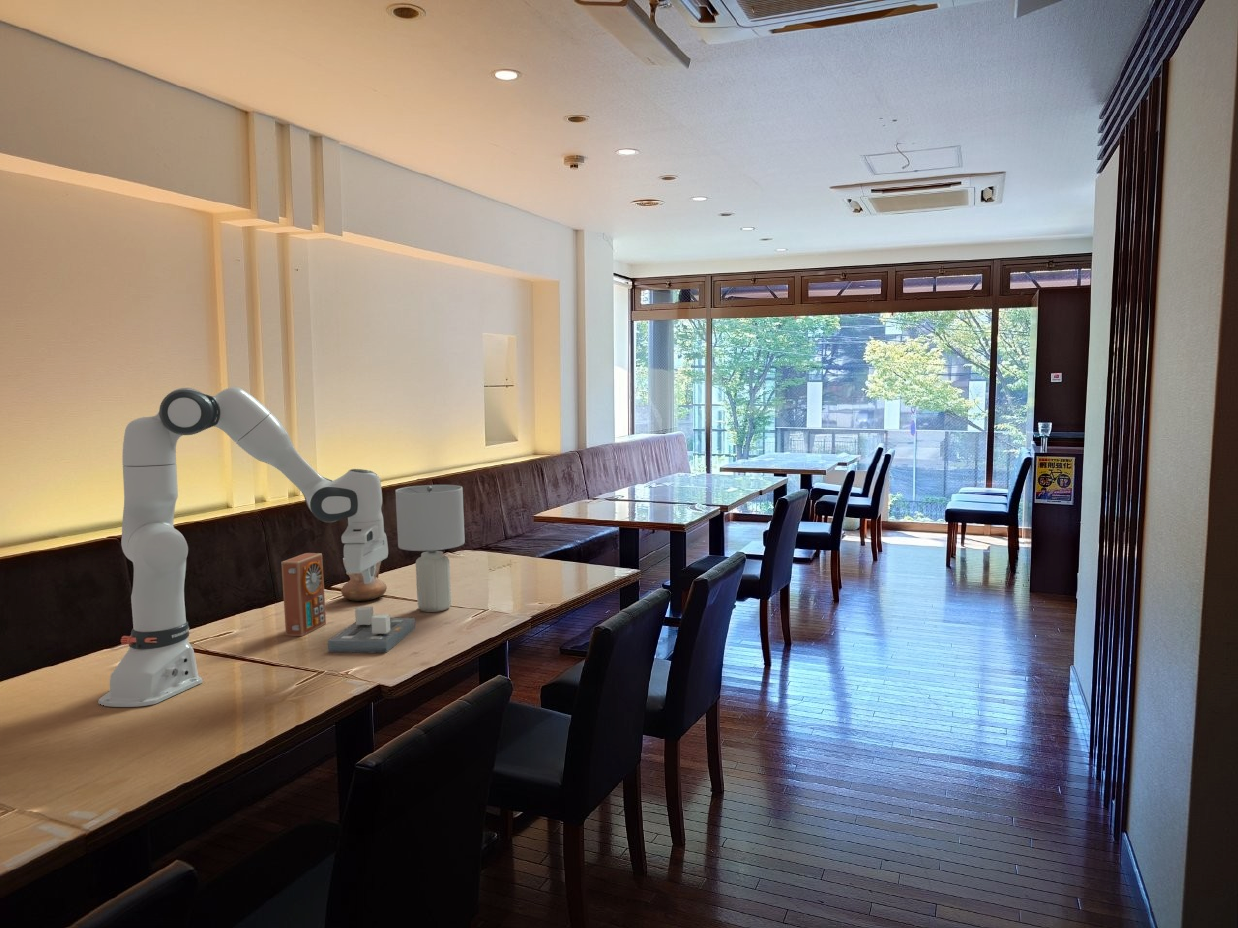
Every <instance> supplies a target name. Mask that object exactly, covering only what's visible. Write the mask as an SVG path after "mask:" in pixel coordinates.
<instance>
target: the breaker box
mask: <svg viewBox="0 0 1238 928" xmlns="http://www.w3.org/2000/svg"><path fill="white" fill-rule="evenodd" d="M414 628H415V629H416V619H415V618H414V617H390V631H389V632H388V633H386V634H379V633H372V623H371V624H370V625H356V621H355V622H353V623H352V624H351V625H349V626H348V627H345V628H344V629H343V630H342V631H340V632H338V633H337V634H336V635H335V636H333V637H331V638H330V639H328V641H327V647H328V648H327V649H328V650H327V651H328V653H371V654H372V653H374V654H375V653H376V652H377V653H376V654H378V653H381V654H382V652H386V653H388V652H389V651H391V650H392V649H393V648H394V647H395V646H396V645H397V644H399V643H400V642H401V641H402V640H403V639H405V638H406V637H407V636H408V635H409V634H410V633H411V632H412V631H413V629H414ZM415 629H414V630H415ZM406 635H407V636H406ZM405 636H406V637H405ZM386 653H385V654H386Z"/></svg>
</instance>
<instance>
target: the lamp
mask: <svg viewBox="0 0 1238 928" xmlns="http://www.w3.org/2000/svg"><path fill="white" fill-rule="evenodd" d="M463 491H464V489H463V486H461V485H458V484H456V485H455V484H426V485H424V484H423V485H414V486H405V487H401V488H397V489H395V509H396V510H395V511H396V527H397V547H398V549H400V550H404V551H410V552H411V551H413V552H422V553H421V554H420V557H418V558H417V559H416V560H415V581H416V598H417V599H416V601H417V602H416V603H417V607H418V609H419V610H420V611H422V612H425V613H436V612H438V613H439V612H444V611H445V610H448V609H449V608H450V606H451V605H452V591H451V590H452V589H451V568H450V567H451V566H450V563H451V562H450V559H449V557H448V556H447V555H445V554H444V552H443V550H449V549H455V548H458V547H460V546H463V545H464V544H465V540H466V539H465V537H466V536H465V516H464V513H465V512H464V494H463V493H464V492H463Z"/></svg>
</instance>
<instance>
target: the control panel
mask: <svg viewBox="0 0 1238 928" xmlns="http://www.w3.org/2000/svg"><path fill="white" fill-rule="evenodd" d="M280 564H281V565H280V566H281V576H282V577H281V578H282V579H281V580H282V591H283V593H282V594H283V595H282V596H283V608H284V611H283V612H284V624H285V625H284V626H285V636H288V637H289V636H290V637H291V636H292V637H304V636H306V635H307V634H309V633H311V632H314V631H315V630H317V629H319V628H321V627H323V626H324V625H326V624H327V618H326V617H327V616H326V599H325V597H326V596H325V582H324V566H323V565H324V564H323V554H322V553H319V552H317V553H315V552H306V553H305V552H304V553H302V554H299V555H297V556H294V557H292V558H288V559H286V560H283V561H281V563H280Z"/></svg>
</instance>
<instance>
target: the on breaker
mask: <svg viewBox="0 0 1238 928" xmlns="http://www.w3.org/2000/svg"><path fill="white" fill-rule="evenodd" d="M354 616H355V622H356V625H370V624H371V623H372V622H371V617H373V616H374V606H357V608H355V609H354Z"/></svg>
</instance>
